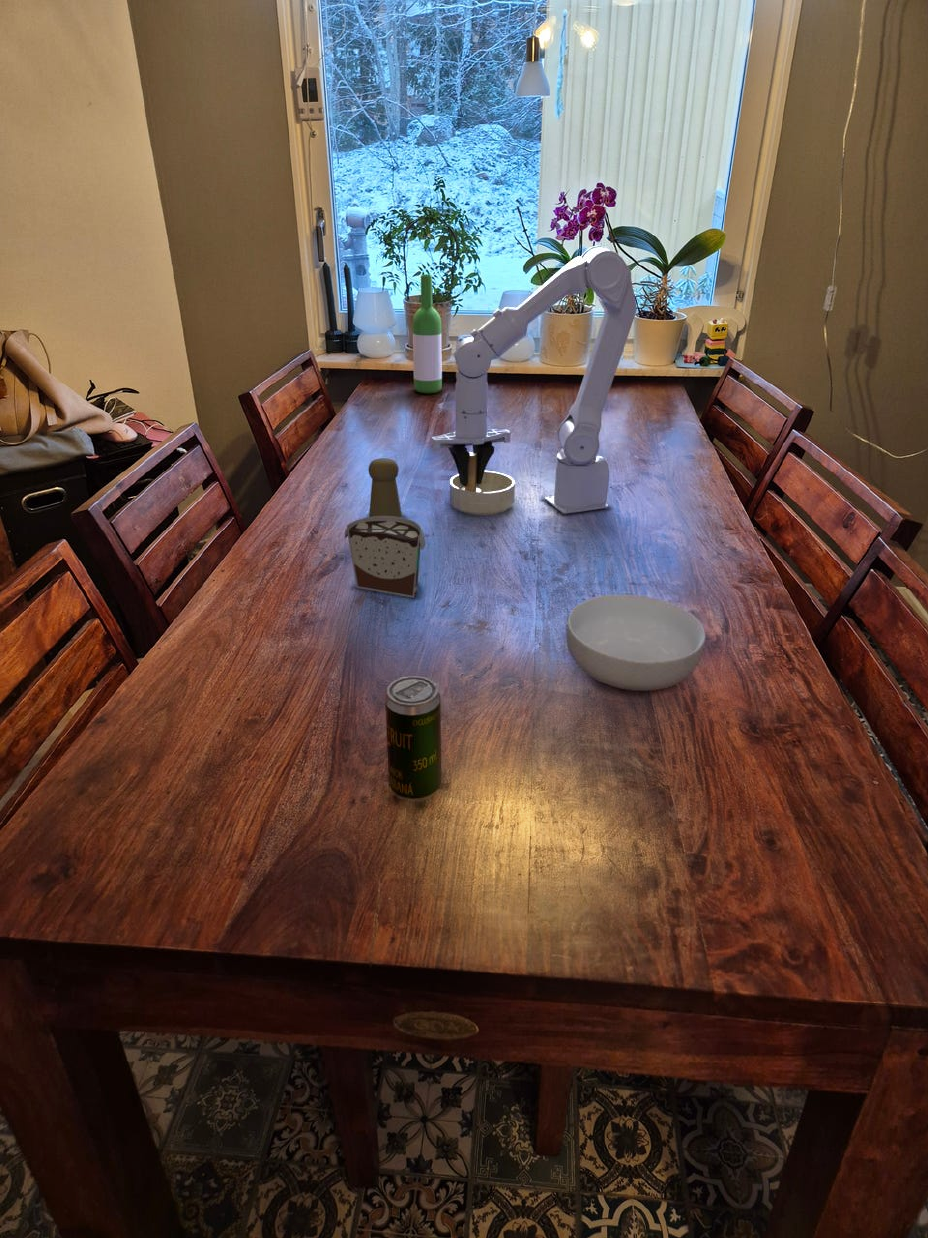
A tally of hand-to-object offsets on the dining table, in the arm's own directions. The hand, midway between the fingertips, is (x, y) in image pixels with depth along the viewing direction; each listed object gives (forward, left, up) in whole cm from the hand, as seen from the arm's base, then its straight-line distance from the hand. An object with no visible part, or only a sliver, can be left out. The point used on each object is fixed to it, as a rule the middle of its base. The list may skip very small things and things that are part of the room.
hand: (470, 483), depth 150 cm
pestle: (0, 0, -3) cm, 3 cm away
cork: (+17, +1, -4) cm, 17 cm away
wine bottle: (-20, -85, -4) cm, 87 cm away
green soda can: (+34, +71, -4) cm, 79 cm away
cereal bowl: (+2, +60, -4) cm, 60 cm away
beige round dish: (-2, 0, -4) cm, 5 cm away
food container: (+23, +26, -4) cm, 35 cm away
